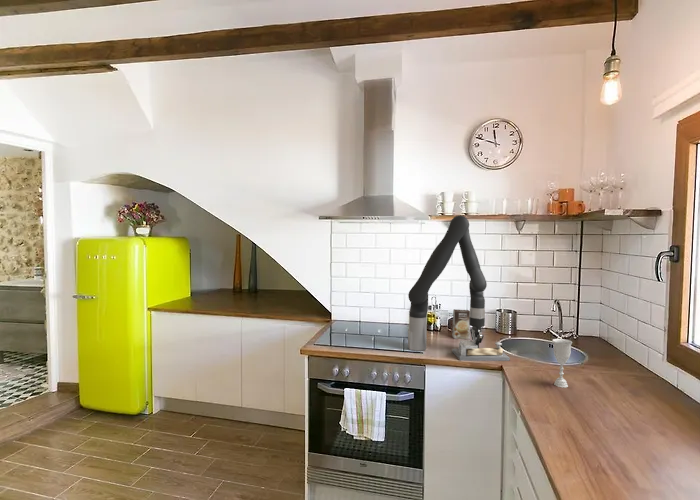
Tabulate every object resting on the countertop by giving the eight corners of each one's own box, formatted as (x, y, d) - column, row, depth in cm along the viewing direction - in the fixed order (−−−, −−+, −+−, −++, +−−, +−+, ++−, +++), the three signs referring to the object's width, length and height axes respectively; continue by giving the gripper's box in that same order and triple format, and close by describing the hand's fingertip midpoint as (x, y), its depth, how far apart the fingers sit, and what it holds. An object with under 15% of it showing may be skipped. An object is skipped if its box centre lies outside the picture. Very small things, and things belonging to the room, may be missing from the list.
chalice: (560, 389, 153) (561, 344, 152) (547, 382, 160) (548, 339, 159) (575, 387, 155) (576, 342, 154) (561, 381, 162) (563, 338, 161)
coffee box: (454, 338, 225) (454, 311, 224) (452, 335, 231) (452, 309, 231) (470, 339, 224) (470, 311, 223) (467, 336, 231) (468, 309, 230)
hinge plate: (460, 360, 187) (460, 345, 186) (452, 351, 201) (452, 337, 200) (509, 360, 187) (510, 345, 187) (498, 351, 201) (498, 337, 201)
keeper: (462, 360, 186) (462, 345, 186) (457, 354, 195) (457, 340, 195) (477, 360, 186) (477, 345, 186) (471, 354, 195) (471, 340, 195)
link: (500, 352, 193) (500, 347, 193) (504, 355, 189) (504, 350, 189) (465, 353, 192) (465, 348, 192) (467, 355, 188) (468, 350, 188)
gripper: (465, 313, 203) (464, 346, 204) (474, 319, 190) (473, 354, 190) (479, 313, 203) (478, 346, 204) (489, 319, 190) (488, 354, 191)
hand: (476, 349), depth 197 cm, fingers closed
